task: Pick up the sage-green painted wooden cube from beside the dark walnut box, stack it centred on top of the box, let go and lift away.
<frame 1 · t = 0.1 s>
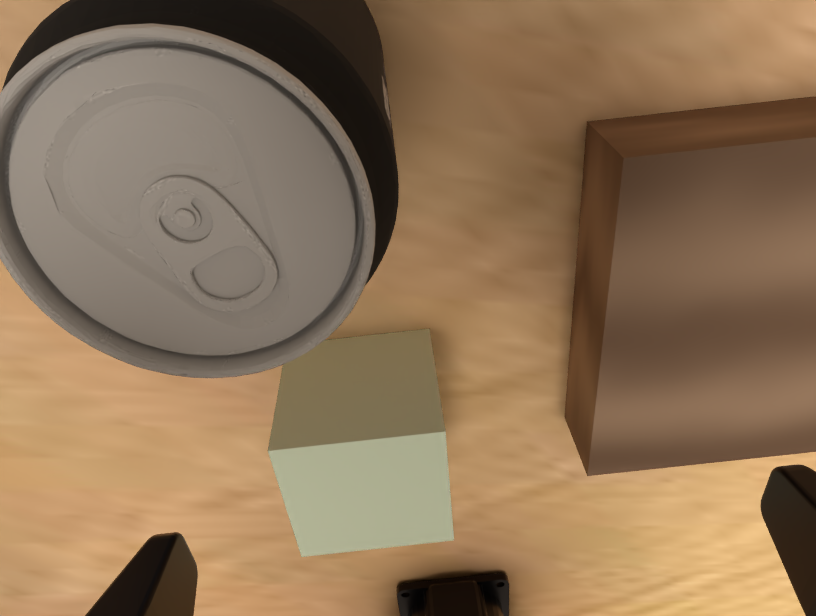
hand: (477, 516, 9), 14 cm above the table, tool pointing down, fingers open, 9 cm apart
beverage can: (279, 60, 19), on the table
sage cube: (367, 388, 27), on the table
walnut box: (739, 268, 25), on the table
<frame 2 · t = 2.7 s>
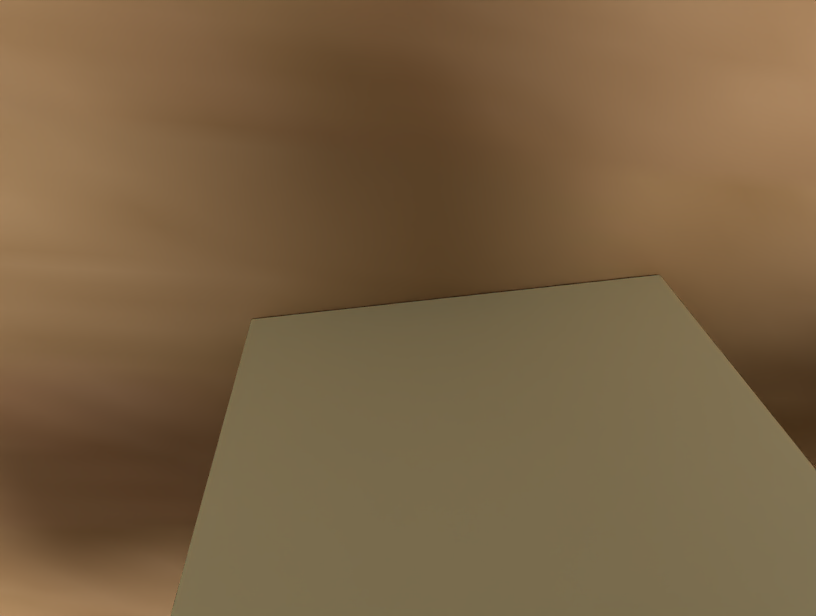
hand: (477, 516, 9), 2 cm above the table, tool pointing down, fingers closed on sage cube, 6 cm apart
sage cube: (463, 441, 10), on the table, touching gripper
when the fingers open (7 cm above the table, at t = 6.8 s): sage cube drops 2 cm, point 3 cm above the table.
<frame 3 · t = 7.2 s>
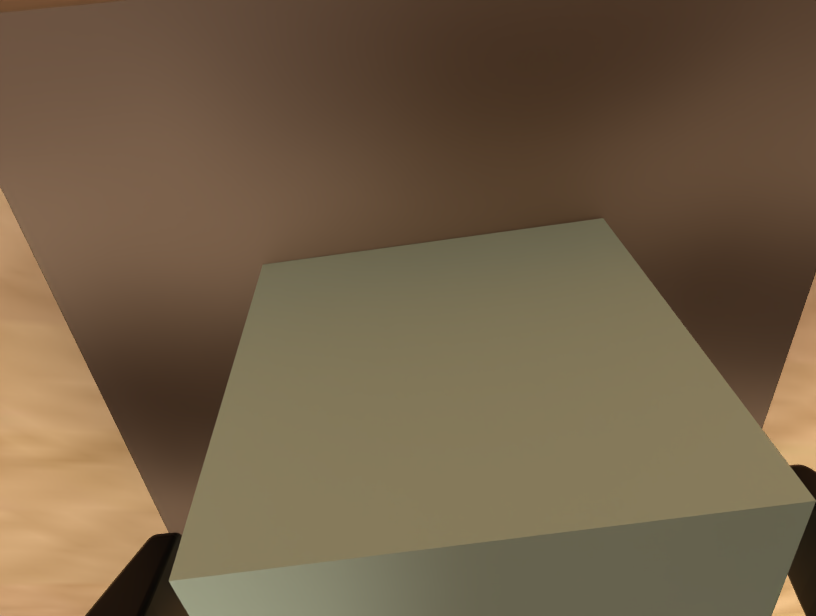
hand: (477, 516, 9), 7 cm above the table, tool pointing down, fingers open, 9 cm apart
sage cube: (446, 372, 12), point 3 cm above the table
walnut box: (432, 267, 15), on the table
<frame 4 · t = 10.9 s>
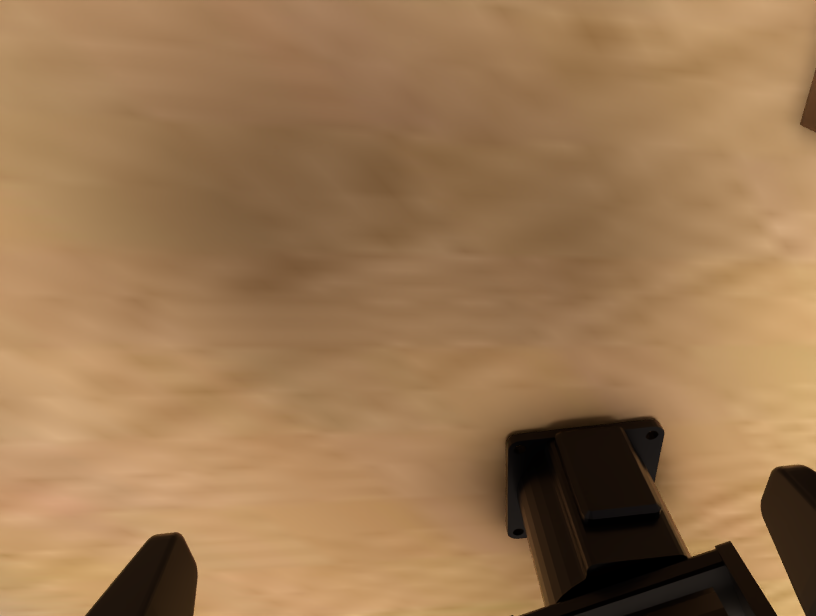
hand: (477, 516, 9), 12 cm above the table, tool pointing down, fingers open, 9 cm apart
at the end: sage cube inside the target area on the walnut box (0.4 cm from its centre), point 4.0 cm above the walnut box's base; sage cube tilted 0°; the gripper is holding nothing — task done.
